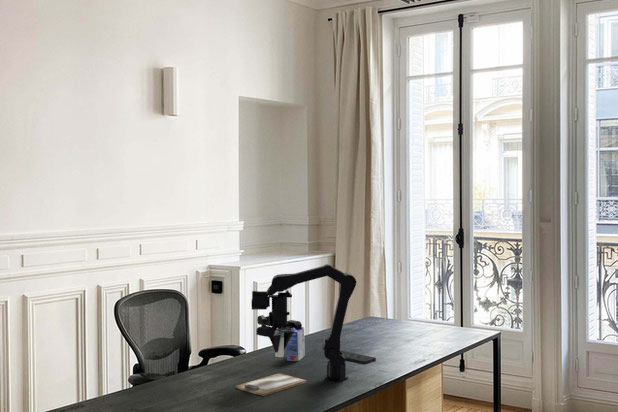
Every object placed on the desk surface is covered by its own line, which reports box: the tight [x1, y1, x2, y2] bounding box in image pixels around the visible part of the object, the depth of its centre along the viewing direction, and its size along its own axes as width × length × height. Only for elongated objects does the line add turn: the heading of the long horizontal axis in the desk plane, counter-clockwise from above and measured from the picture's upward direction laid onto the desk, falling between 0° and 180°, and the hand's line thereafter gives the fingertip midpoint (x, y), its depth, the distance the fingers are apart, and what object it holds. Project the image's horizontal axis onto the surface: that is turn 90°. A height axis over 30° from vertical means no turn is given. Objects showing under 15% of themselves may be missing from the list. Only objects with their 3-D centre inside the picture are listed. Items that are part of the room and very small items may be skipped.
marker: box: [274, 332, 285, 361], centre depth 255 cm, size 3×3×10 cm
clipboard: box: [235, 373, 307, 397], centre depth 248 cm, size 14×22×2 cm, turn 138°
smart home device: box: [340, 349, 377, 365], centre depth 288 cm, size 8×2×20 cm
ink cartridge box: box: [285, 326, 306, 362], centre depth 287 cm, size 10×6×14 cm, turn 164°
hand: (279, 351), depth 255 cm, fingers closed on marker, 3 cm apart
